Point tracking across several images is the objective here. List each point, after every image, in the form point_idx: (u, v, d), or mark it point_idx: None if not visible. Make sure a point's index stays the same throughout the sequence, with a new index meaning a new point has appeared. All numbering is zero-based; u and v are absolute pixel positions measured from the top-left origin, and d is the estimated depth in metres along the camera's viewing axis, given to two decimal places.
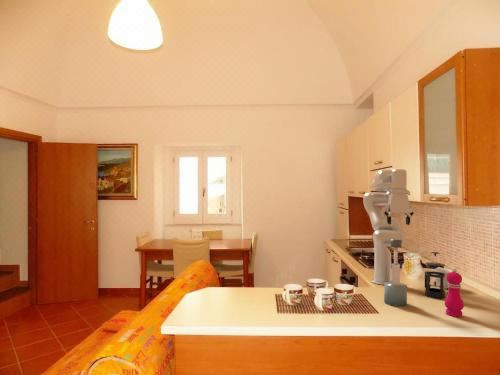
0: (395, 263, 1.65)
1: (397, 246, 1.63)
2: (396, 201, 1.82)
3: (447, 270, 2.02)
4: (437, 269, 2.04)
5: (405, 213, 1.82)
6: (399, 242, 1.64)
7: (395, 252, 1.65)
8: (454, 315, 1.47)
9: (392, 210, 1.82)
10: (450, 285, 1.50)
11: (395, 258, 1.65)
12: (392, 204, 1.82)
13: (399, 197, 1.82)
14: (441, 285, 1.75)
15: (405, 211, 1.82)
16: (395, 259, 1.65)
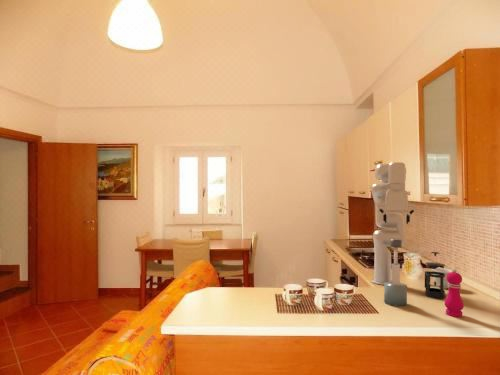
0: (395, 263, 1.65)
1: (397, 246, 1.63)
2: None
3: (447, 270, 2.02)
4: (437, 269, 2.04)
5: None
6: (399, 242, 1.64)
7: (395, 252, 1.65)
8: (454, 315, 1.47)
9: None
10: (450, 285, 1.50)
11: (395, 258, 1.65)
12: None
13: None
14: (441, 285, 1.75)
15: None
16: (395, 259, 1.65)
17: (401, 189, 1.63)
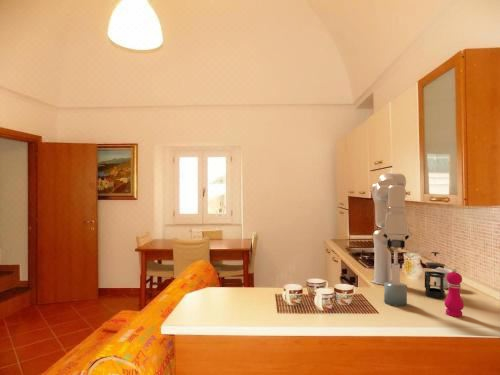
0: (395, 263, 1.65)
1: (397, 246, 1.63)
2: None
3: (447, 270, 2.02)
4: (437, 269, 2.04)
5: None
6: (399, 242, 1.64)
7: (395, 252, 1.65)
8: (454, 315, 1.47)
9: None
10: (450, 285, 1.50)
11: (395, 258, 1.65)
12: None
13: None
14: (441, 285, 1.75)
15: None
16: (395, 259, 1.65)
17: (401, 213, 1.63)
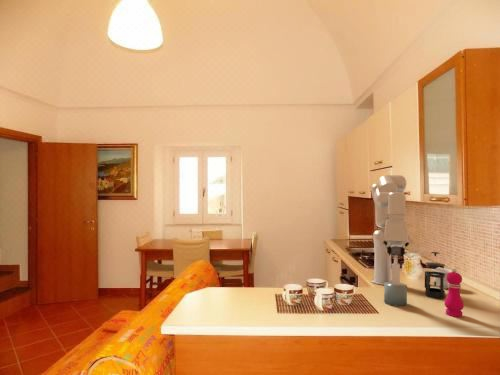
0: None
1: (397, 253, 1.63)
2: None
3: (447, 270, 2.02)
4: (437, 269, 2.04)
5: None
6: (399, 249, 1.63)
7: (395, 259, 1.65)
8: (454, 315, 1.47)
9: None
10: (450, 285, 1.50)
11: None
12: None
13: None
14: (441, 285, 1.75)
15: None
16: None
17: (401, 220, 1.63)
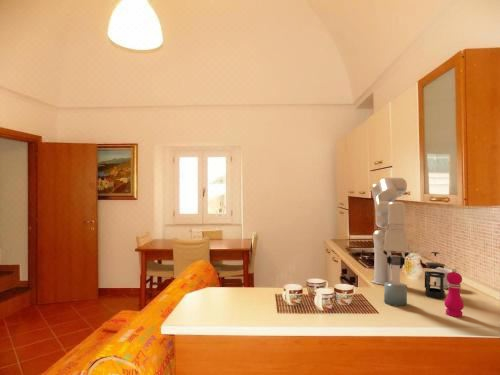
0: None
1: (397, 263, 1.63)
2: None
3: (447, 270, 2.02)
4: (437, 269, 2.04)
5: None
6: (399, 259, 1.63)
7: None
8: (454, 315, 1.47)
9: None
10: (450, 285, 1.50)
11: None
12: None
13: None
14: (441, 285, 1.75)
15: None
16: None
17: (401, 230, 1.63)
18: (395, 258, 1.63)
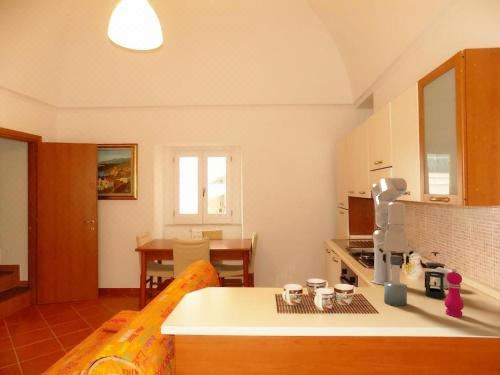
0: None
1: (397, 263, 1.63)
2: None
3: (447, 270, 2.02)
4: (437, 269, 2.04)
5: None
6: (399, 259, 1.63)
7: None
8: (454, 315, 1.47)
9: None
10: (450, 285, 1.50)
11: None
12: None
13: None
14: (441, 285, 1.75)
15: None
16: None
17: (401, 230, 1.63)
18: (395, 258, 1.63)
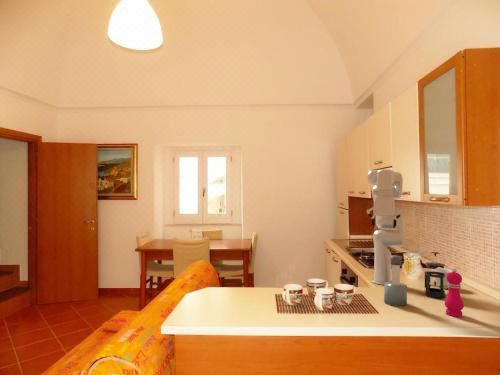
0: None
1: (397, 263, 1.63)
2: None
3: (447, 270, 2.02)
4: (437, 269, 2.04)
5: None
6: (399, 259, 1.63)
7: None
8: (454, 315, 1.47)
9: None
10: (450, 285, 1.50)
11: None
12: None
13: None
14: (441, 285, 1.75)
15: None
16: None
17: (388, 195, 1.72)
18: (395, 258, 1.63)
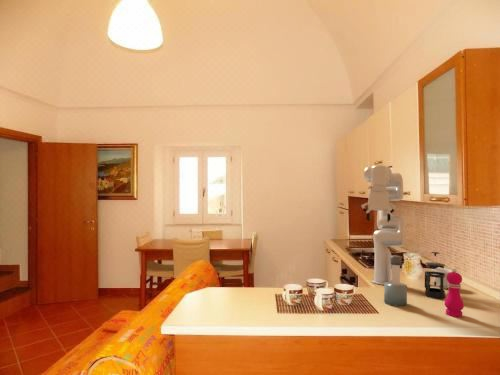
0: None
1: (397, 263, 1.63)
2: None
3: (447, 270, 2.02)
4: (437, 269, 2.04)
5: None
6: (399, 259, 1.63)
7: None
8: (454, 315, 1.47)
9: None
10: (450, 285, 1.50)
11: None
12: None
13: None
14: (441, 285, 1.75)
15: None
16: None
17: (382, 190, 1.77)
18: (395, 258, 1.63)
